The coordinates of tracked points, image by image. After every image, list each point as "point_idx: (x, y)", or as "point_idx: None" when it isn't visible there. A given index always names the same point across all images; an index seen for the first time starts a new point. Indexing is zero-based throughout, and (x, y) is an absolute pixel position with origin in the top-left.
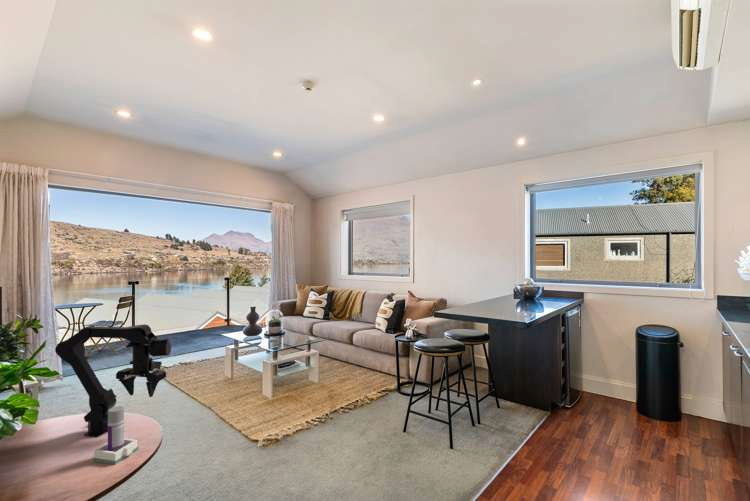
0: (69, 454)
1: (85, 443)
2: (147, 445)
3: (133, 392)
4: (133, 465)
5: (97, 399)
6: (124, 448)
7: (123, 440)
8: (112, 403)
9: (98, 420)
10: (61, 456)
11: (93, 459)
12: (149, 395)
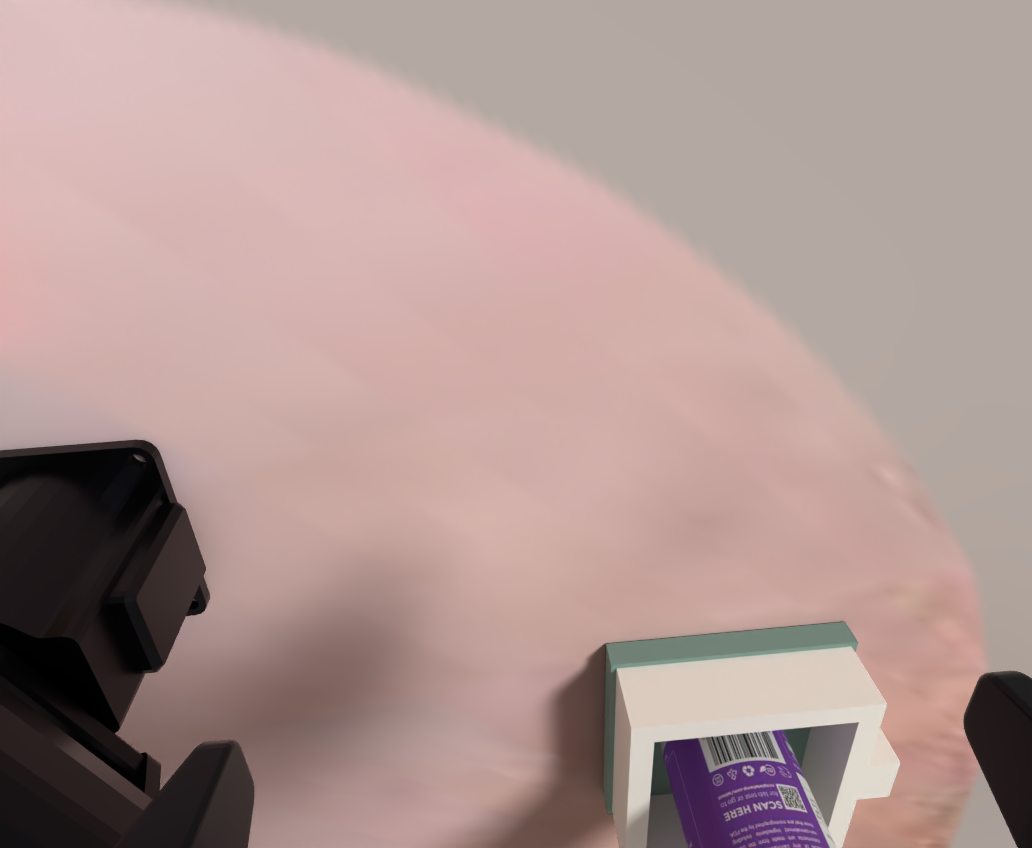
0: (312, 795)
1: (234, 685)
2: (886, 557)
3: (214, 795)
4: (953, 744)
5: None
6: (859, 796)
7: (819, 810)
8: (16, 818)
9: (152, 771)
10: (284, 820)
11: (606, 804)
12: (1016, 807)
